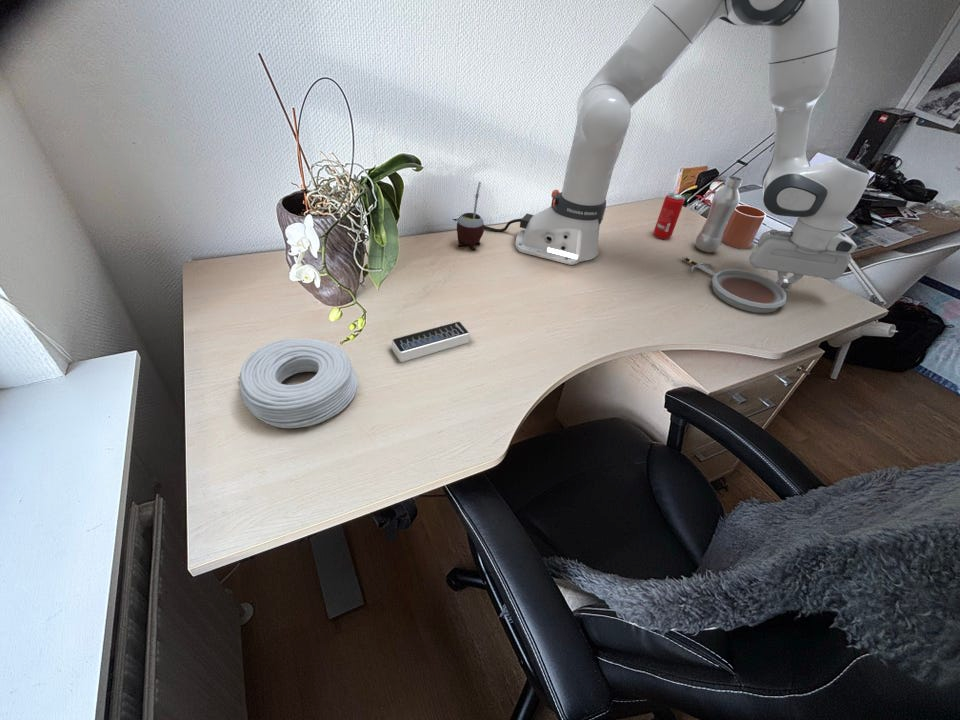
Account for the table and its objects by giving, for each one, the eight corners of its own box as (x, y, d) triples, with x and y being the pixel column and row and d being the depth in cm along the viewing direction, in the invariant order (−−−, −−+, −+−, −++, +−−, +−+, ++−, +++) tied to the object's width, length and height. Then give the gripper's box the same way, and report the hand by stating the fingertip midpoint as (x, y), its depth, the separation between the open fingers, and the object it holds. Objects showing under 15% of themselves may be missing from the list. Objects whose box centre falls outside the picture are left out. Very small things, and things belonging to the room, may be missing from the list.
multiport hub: (391, 348, 86) (390, 339, 85) (459, 329, 92) (459, 320, 91) (400, 362, 83) (399, 352, 82) (469, 342, 90) (470, 332, 88)
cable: (236, 376, 78) (226, 349, 74) (337, 347, 85) (333, 321, 81) (259, 448, 67) (248, 421, 63) (372, 408, 74) (369, 381, 70)
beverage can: (649, 232, 136) (662, 192, 128) (663, 231, 137) (678, 192, 130) (659, 240, 132) (673, 199, 125) (674, 239, 134) (689, 199, 126)
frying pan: (703, 246, 126) (803, 293, 109) (699, 255, 128) (797, 303, 110) (663, 258, 118) (763, 311, 101) (659, 268, 120) (757, 322, 103)
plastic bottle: (702, 255, 127) (733, 183, 114) (688, 244, 132) (716, 174, 119) (721, 254, 128) (754, 182, 115) (706, 243, 133) (736, 173, 120)
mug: (754, 242, 136) (769, 211, 130) (745, 251, 131) (761, 219, 125) (716, 229, 142) (729, 199, 136) (706, 237, 137) (719, 206, 130)
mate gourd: (461, 253, 117) (465, 195, 108) (450, 239, 123) (452, 183, 113) (488, 249, 120) (493, 193, 110) (476, 236, 125) (480, 181, 116)
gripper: (768, 233, 103) (741, 286, 112) (865, 247, 101) (829, 300, 110) (761, 222, 108) (735, 274, 117) (853, 236, 106) (819, 287, 115)
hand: (782, 287), depth 113 cm, fingers closed
